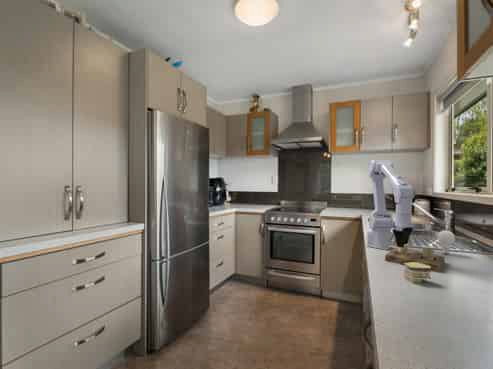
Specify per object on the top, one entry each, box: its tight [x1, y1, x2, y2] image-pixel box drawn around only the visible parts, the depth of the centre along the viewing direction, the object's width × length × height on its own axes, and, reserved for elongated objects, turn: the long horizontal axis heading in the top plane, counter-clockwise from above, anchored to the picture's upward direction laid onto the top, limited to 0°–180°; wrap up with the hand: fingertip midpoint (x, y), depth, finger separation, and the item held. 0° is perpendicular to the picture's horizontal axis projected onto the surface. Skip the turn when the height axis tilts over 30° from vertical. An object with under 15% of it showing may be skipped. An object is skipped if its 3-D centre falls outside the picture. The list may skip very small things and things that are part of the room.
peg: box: [422, 248, 435, 261], centre depth 101 cm, size 4×4×6 cm
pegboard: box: [384, 247, 446, 273], centre depth 104 cm, size 18×16×2 cm
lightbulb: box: [437, 229, 456, 255], centre depth 116 cm, size 6×6×11 cm
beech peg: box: [397, 244, 409, 256], centre depth 107 cm, size 4×4×6 cm
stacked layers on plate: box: [402, 262, 432, 283], centre depth 83 cm, size 10×9×6 cm
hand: (402, 245), depth 107 cm, fingers open, 7 cm apart
